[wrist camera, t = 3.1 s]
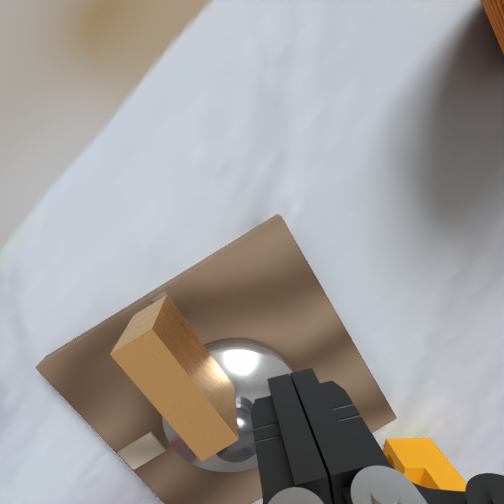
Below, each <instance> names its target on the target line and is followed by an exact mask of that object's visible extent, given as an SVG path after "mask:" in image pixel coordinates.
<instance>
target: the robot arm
mask: <svg viewBox="0 0 504 504" xmlns="http://www.w3.org/2000/svg"><path fill="white" fill-rule="evenodd" d="M267 381H268V386H269V391H270V396H266V397H262V398H258V399H255V401H254V404H253V407H252V410H251V413H250V415H251V421H252V428H253V435H254V441H255V448H256V455H257V461H258V468H259V475H260V481H261V488H262V495H263V504H504V476H503V475H499V474H493V473H484V474H479V475H476V476H474V477H472V478H471V479H470V480H469V481H468V483H467V485H466V488H465V492H464V491H452V490H440V489H431V488H426V487H423V486H420V485H417V484H415V483H413V482H411V481H410V480H409V479H408V478H407V477H406V476H405V475H403V474H402V473H400V472H398V471H397V470H395V469H394V468H393V466H392V465H391V464H390V462H389V461H388V459H387V458H386V456H385V454H384V453H383V451H382V449H381V448H380V446H379V444H378V443H377V441H376V440H375V438H374V436H373V435H372V433H371V431H370V430H369V428H368V426H367V425H366V423H365V422H364V420H363V418H362V417H361V416H360V413H359V412H358V410H357V408H356V407H355V406H354V404H353V402H352V400H351V399H350V397H349V395H348V394H347V392H346V390H345V389H343V388H342V387H341V386H339V385H338V384H336V383H335V382H334V381H328V382H324V383H320V382H319V380H318V378H317V377H316V375H315V373H314V371H313V369H312V368H309V369H305V370H301V371H296V372H292V373H290V375H289V374H284V375H280V376H276V377H272V378H268V379H267Z"/></svg>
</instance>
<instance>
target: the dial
mask: <svg viewBox="0 0 504 504" xmlns="http://www.w3.org/2000/svg"><path fill="white" fill-rule="evenodd" d="M110 355H111V356H112V357H113V359H114V360H115V361H116V362H117V363H118V364H119V366H120V367H121V368H122V369H123V370H124V371H125V373H126V374H127V375H128V376H129V377H130V378H131V380H132V381H133V382H134V383H135V384H136V385H137V387H138V388H139V389H140V390H141V391H142V392H143V394H144V395H145V396H146V397H147V398H148V400H149V401H150V402H151V403H152V404H153V405H154V407H155V408H156V409H157V410H158V411H159V412H160V414H161V415H162V422H163V428H164V432H165V434H166V437H167V439H168V441H169V443H170V444H171V446H172V447H173V448H174V450H175V451H176V452H177V453H178V454H179V455H180V456H181V457H183V458H184V459H185V460H187V461H188V462H190V463H192V464H194V465H196V466H198V467H200V468H203V469H207V470H211V471H217V472H238V471H244V470H248V469H252V468H255V467H258V461H257V455H256V448H255V441H254V435H253V428H252V421H251V415H250V413H251V410H252V407H253V404H254V401H255V399H258V398H262V397H266V396H270V391H269V386H268V381H267V379H268V378H272V377H276V376H280V375H284V374H289V375H290V373H292V372H294V370H293V369H292V367H291V365H290V363H289V362H288V361H287V359H286V358H285V357H284V356H283V355H282V354H281V353H280V352H279V351H277V350H276V349H274V348H273V347H271V346H269V345H268V344H266V343H263V342H260V341H258V340H253V339H249V338H225V339H220V340H216V341H212V342H210V343H207V344H205V345H203V344H202V342H201V341H200V340H199V338H198V337H197V335H196V334H195V333H194V331H193V330H192V329H191V327H190V326H189V325H188V323H187V322H186V321H185V319H184V318H183V317H182V315H181V314H180V313H179V311H178V310H177V308H176V307H175V306H174V304H173V303H172V302H171V300H170V299H169V298H168V296H167V295H166V296H164V297H163V298H161V299H159V300H158V301H156V302H155V303H153V304H151V305H150V306H148V307H146V308H145V309H143V310H142V311H140V312H138V313H137V314H135V315H134V316H133V317H132V319H131V321H130V322H129V324H128V326H127V327H126V329H125V331H124V332H123V334H122V335H121V337H120V339H119V340H118V342H117V344H116V345H115V347H114V348H113V350H112V352H111V353H110Z"/></svg>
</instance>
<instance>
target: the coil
mask: <svg viewBox="0 0 504 504" xmlns="http://www.w3.org/2000/svg"><path fill="white" fill-rule="evenodd" d="M481 2H482V4H483V6H484V9H485V11H486V14H487V16H488V19H489V21H490V23H491V26H492V28H493V31H494V33H495V35H496V38H497V40H498V43H499V45H500V48H501V50H502V52H503V55H504V0H481Z"/></svg>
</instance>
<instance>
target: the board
mask: <svg viewBox="0 0 504 504" xmlns="http://www.w3.org/2000/svg"><path fill="white" fill-rule="evenodd" d="M166 295H167V296H168V298H169V299H170V300H171V302H172V303H173V304H174V306H175V307H176V308H177V310H178V311H179V313H180V314H181V315H182V317H183V318H184V319H185V321H186V322H187V323H188V325H189V326H190V327H191V329H192V330H193V331H194V333H195V334H196V335H197V337H198V338H199V340H200V341H201V342H202V344H203V345H205V344H207V343H210V342H212V341H216V340H220V339H225V338H249V339H253V340H258V341H260V342H263V343H266V344H268V345H269V346H271V347H273V348H274V349H276V350H277V351H279V352H280V353H281V354H282V355H283V356H284V357H285V358H286V359H287V361H288V362H289V363H290V365H291V367H292V369H293V370H294V372H296V371H301V370H305V369H309V368H312V369H313V371H314V373H315V375H316V377H317V378H318V380H319V382H320V383H324V382H328V381H334V382H335V383H336V384H338V385H339V386H341V387H342V388H343V389H345V390H346V392H347V394H348V395H349V397H350V399H351V400H352V402H353V404H354V406H355V407H356V408H357V410H358V412H359V413H360V416H361V417H362V418H363V420H364V422H365V423H366V425H367V426H368V428H369V430H370V431H371V433H373V432H374V431H376V430H378V429H379V428H381V427H383V426H384V425H386V424H388V423H390V422H391V421H393V420H395V419H396V416H395V414H394V412H393V411H392V409H391V407H390V405H389V404H388V402H387V400H386V398H385V397H384V395H383V393H382V391H381V390H380V388H379V386H378V384H377V383H376V381H375V379H374V377H373V376H372V374H371V372H370V370H369V369H368V367H367V365H366V363H365V362H364V360H363V358H362V356H361V355H360V353H359V351H358V349H357V348H356V346H355V344H354V342H353V341H352V339H351V337H350V335H349V334H348V332H347V330H346V329H345V327H344V325H343V323H342V322H341V320H340V318H339V316H338V315H337V313H336V311H335V309H334V308H333V306H332V304H331V302H330V301H329V299H328V297H327V295H326V294H325V292H324V290H323V288H322V287H321V285H320V283H319V281H318V280H317V278H316V276H315V274H314V273H313V271H312V269H311V267H310V266H309V264H308V262H307V260H306V259H305V257H304V255H303V253H302V252H301V250H300V248H299V246H298V245H297V243H296V241H295V239H294V238H293V236H292V234H291V232H290V231H289V229H288V227H287V226H286V224H285V222H284V220H283V219H282V217H281V216H280V215H278V214H277V215H275V216H273V217H272V218H270V219H268V220H267V221H265V222H264V223H262V224H260V225H259V226H257V227H255V228H254V229H252V230H251V231H249V232H247V233H246V234H244V235H242V236H241V237H239V238H238V239H236V240H234V241H233V242H231V243H229V244H228V245H226V246H225V247H223V248H221V249H220V250H218V251H216V252H215V253H213V254H212V255H210V256H208V257H207V258H205V259H203V260H202V261H200V262H199V263H197V264H195V265H194V266H192V267H190V268H189V269H187V270H186V271H184V272H182V273H181V274H179V275H177V276H176V277H174V278H173V279H171V280H169V281H168V282H166V283H164V284H163V285H161V286H160V287H158V288H156V289H155V290H153V291H151V292H150V293H148V294H147V295H145V296H143V297H142V298H140V299H138V300H137V301H135V302H134V303H132V304H130V305H129V306H127V307H125V308H124V309H122V310H121V311H119V312H117V313H116V314H114V315H112V316H111V317H109V318H108V319H106V320H104V321H103V322H101V323H99V324H98V325H96V326H95V327H93V328H91V329H90V330H88V331H86V332H85V333H83V334H82V335H80V336H78V337H77V338H75V339H73V340H72V341H70V342H69V343H67V344H65V345H64V346H62V347H60V348H59V349H57V350H56V351H54V352H52V353H51V354H49V355H47V356H46V357H45V358H44V359H43V360H42V361H41V362H40V363H39V364H38V365H37V366H36V367H35V368H36V369H37V370H38V371H39V372H40V373H41V374H42V375H43V376H44V377H45V378H46V379H47V380H48V381H49V382H50V384H51V385H52V386H53V387H54V388H55V389H56V390H57V391H58V392H59V393H60V394H61V395H62V396H63V397H64V398H65V399H66V400H67V401H68V402H69V403H70V405H71V406H72V407H73V408H74V409H75V410H76V411H77V412H78V413H79V414H80V415H81V416H82V417H83V418H84V419H85V420H86V421H87V422H88V423H89V424H90V426H91V427H92V428H93V429H94V430H95V431H96V432H97V433H98V434H99V435H100V436H101V437H102V438H103V439H104V440H105V441H106V442H107V443H108V444H109V446H110V447H111V448H112V449H113V450H114V451H115V452H116V453H117V454H118V455H119V456H120V457H121V458H122V459H123V460H124V461H125V462H126V463H127V464H128V465H129V467H130V468H131V469H132V470H133V471H134V472H135V473H136V474H137V475H138V476H139V477H140V478H141V479H142V480H143V481H144V482H145V483H146V484H147V485H148V486H149V488H150V489H151V490H152V491H153V492H154V493H155V494H156V495H157V496H158V497H159V498H160V499H161V500H162V501H163V502H164V503H165V504H252V503H253V502H255V501H257V500H258V499H260V498H262V497H263V495H262V488H261V481H260V475H259V468H258V467H255V468H252V469H248V470H244V471H238V472H217V471H211V470H207V469H203V468H200V467H198V466H196V465H194V464H192V463H190V462H188V461H187V460H185V459H184V458H183V457H181V456H180V455H179V454H178V453H177V452H176V451H175V450H174V448H173V447H172V446H171V444H170V443H169V441H168V439H167V437H166V434H165V432H164V428H163V422H162V415H161V414H160V412H159V411H158V410H157V409H156V408H155V407H154V405H153V404H152V403H151V402H150V401H149V400H148V398H147V397H146V396H145V395H144V394H143V392H142V391H141V390H140V389H139V388H138V387H137V385H136V384H135V383H134V382H133V381H132V380H131V378H130V377H129V376H128V375H127V374H126V373H125V371H124V370H123V369H122V368H121V367H120V366H119V364H118V363H117V362H116V361H115V360H114V359H113V357H112V356H111V355H110V353H111V352H112V350H113V348H114V347H115V345H116V344H117V342H118V340H119V339H120V337H121V335H122V334H123V332H124V331H125V329H126V327H127V326H128V324H129V322H130V321H131V319H132V317H133V316H134V315H135V314H137V313H138V312H140V311H142V310H143V309H145V308H146V307H148V306H150V305H151V304H153V303H155V302H156V301H158V300H159V299H161V298H163V297H164V296H166Z"/></svg>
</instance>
